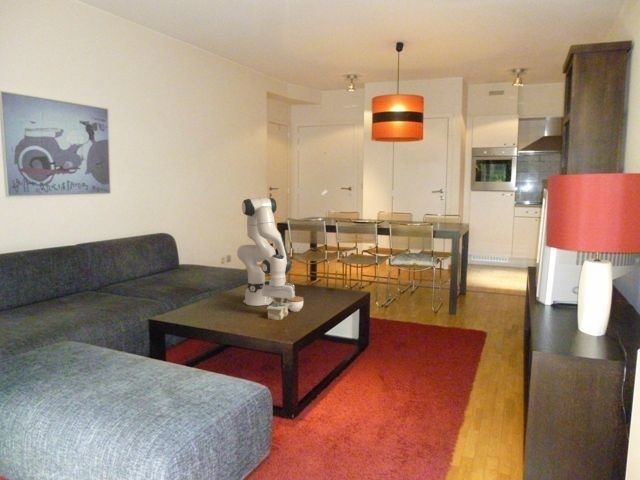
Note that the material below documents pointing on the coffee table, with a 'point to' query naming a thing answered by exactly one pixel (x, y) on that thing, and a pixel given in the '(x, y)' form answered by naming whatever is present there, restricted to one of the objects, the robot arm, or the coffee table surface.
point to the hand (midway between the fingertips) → (278, 304)
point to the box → (277, 313)
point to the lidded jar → (295, 303)
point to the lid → (277, 306)
